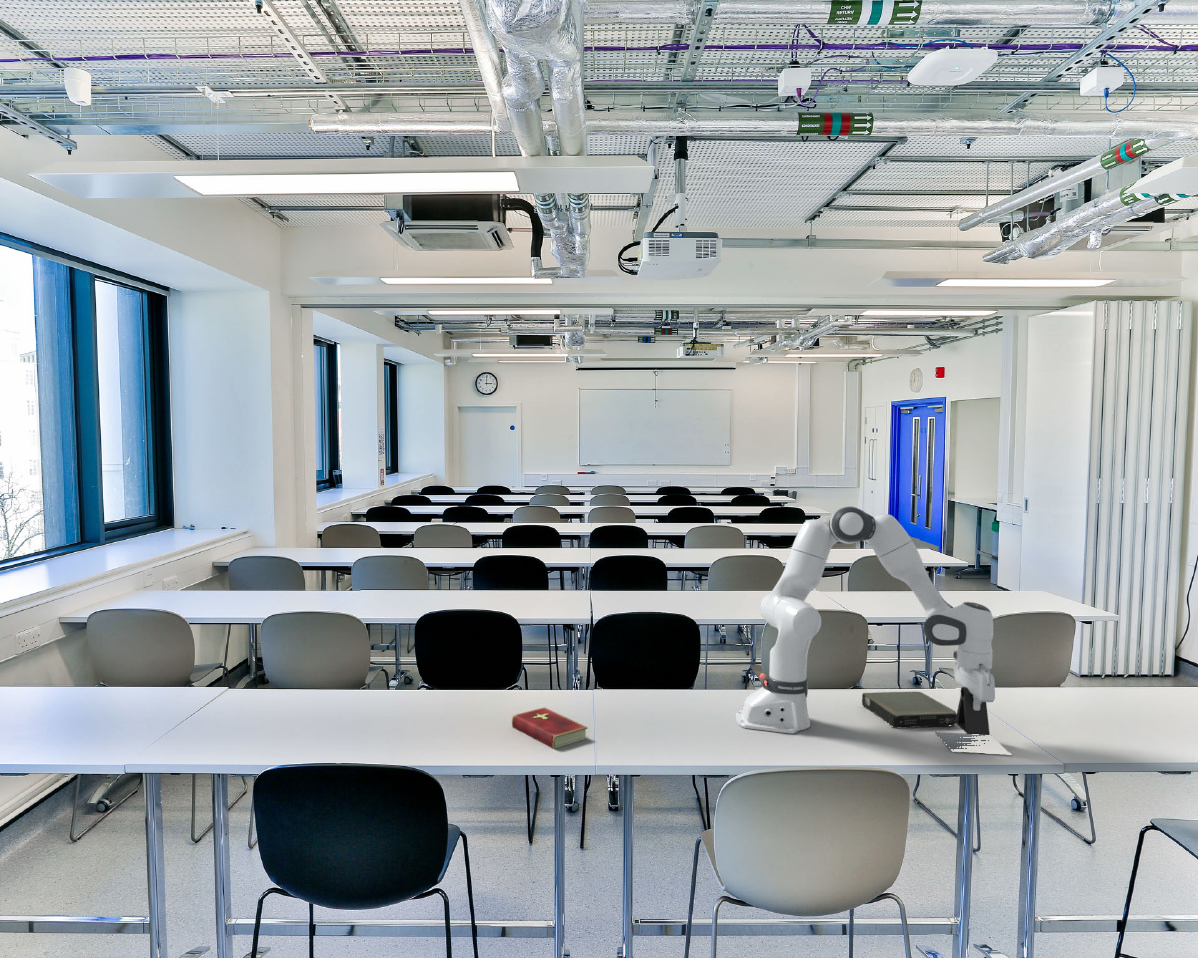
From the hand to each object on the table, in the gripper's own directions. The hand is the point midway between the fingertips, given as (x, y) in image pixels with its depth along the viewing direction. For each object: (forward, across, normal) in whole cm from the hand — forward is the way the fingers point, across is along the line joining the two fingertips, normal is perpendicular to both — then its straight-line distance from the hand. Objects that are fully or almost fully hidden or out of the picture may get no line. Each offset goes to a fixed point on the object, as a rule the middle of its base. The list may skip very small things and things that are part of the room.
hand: (973, 707), depth 215 cm
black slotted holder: (+6, 0, 0) cm, 7 cm away
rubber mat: (+11, 0, 0) cm, 11 cm away
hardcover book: (+11, -8, +122) cm, 123 cm away
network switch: (+12, +22, +11) cm, 27 cm away
